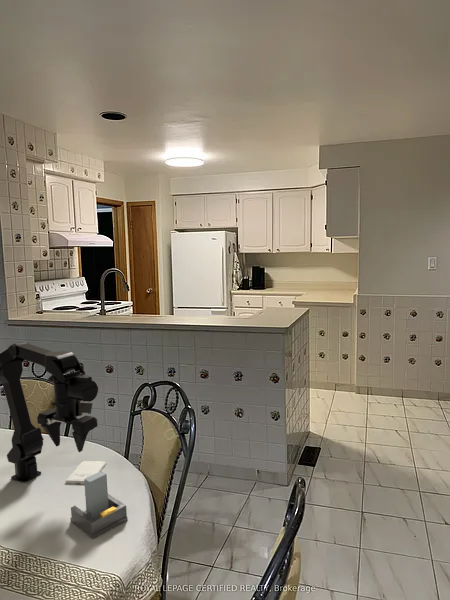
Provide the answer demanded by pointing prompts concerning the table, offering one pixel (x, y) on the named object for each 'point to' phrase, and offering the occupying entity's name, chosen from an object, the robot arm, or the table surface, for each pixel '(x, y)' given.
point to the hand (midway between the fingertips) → (69, 448)
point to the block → (96, 494)
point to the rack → (100, 518)
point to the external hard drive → (85, 471)
